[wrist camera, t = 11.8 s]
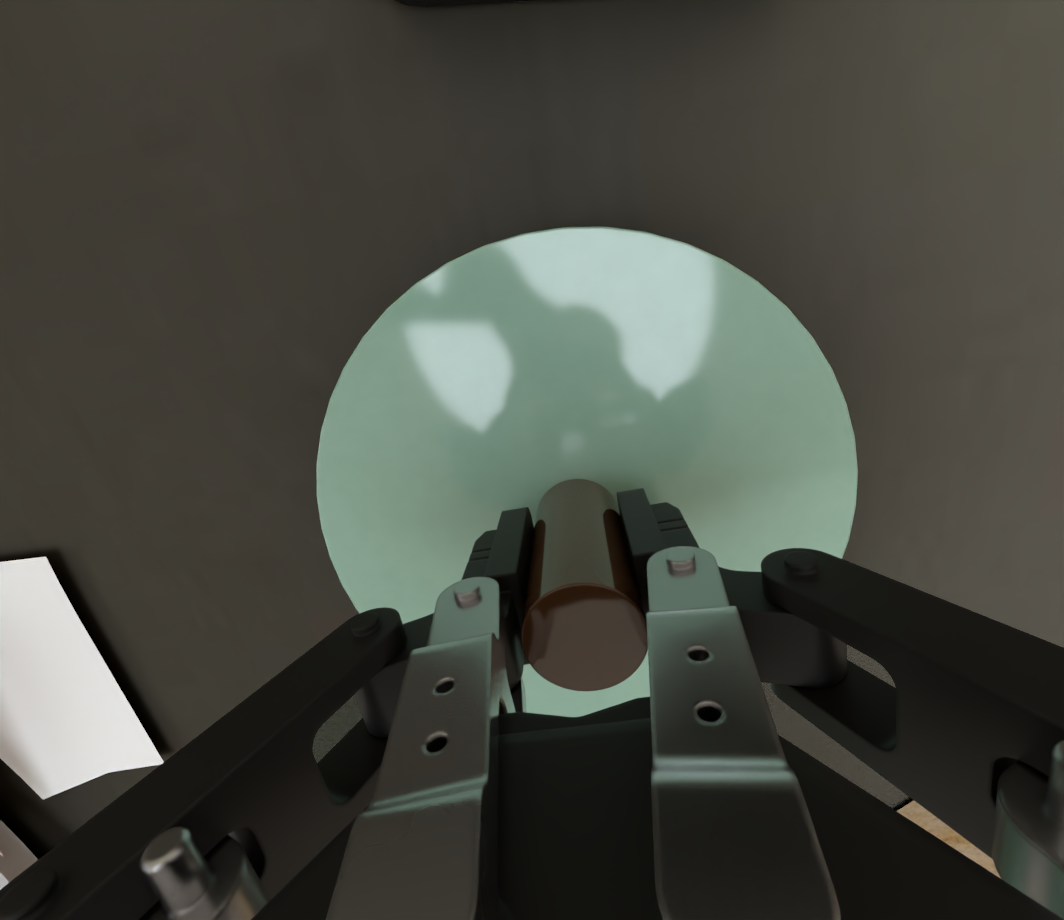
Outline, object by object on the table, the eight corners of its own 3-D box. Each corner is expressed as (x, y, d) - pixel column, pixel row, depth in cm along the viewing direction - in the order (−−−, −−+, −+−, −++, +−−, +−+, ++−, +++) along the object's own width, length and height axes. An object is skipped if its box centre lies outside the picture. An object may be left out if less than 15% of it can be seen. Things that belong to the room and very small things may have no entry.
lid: (408, 723, 19) (330, 939, 13) (261, 298, 15) (26, 303, 8) (842, 672, 17) (1005, 894, 11) (828, 168, 13) (1093, 43, 6)
